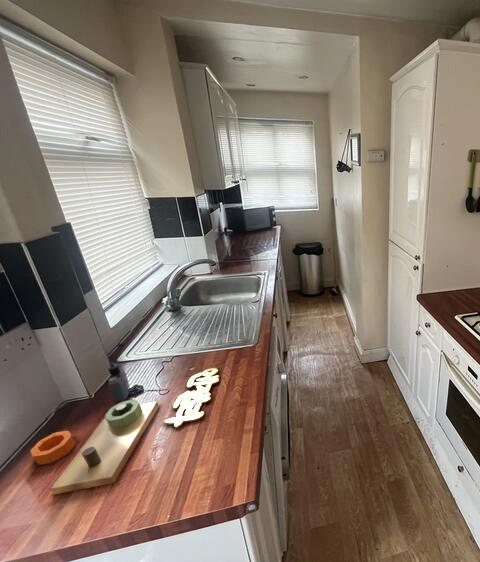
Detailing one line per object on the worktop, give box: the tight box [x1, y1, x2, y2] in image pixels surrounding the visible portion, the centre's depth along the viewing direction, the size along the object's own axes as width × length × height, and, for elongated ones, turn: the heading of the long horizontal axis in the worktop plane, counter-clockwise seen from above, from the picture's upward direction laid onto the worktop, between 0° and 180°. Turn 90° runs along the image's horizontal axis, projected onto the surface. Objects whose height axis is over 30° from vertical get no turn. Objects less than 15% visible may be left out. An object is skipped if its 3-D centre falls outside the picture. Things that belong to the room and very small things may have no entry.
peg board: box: [50, 401, 160, 496], centre depth 79 cm, size 12×24×6 cm, turn 12°
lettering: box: [164, 367, 220, 429], centre depth 96 cm, size 25×10×1 cm, turn 10°
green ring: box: [104, 399, 142, 429], centre depth 86 cm, size 7×7×3 cm
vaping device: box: [107, 362, 130, 404], centre depth 94 cm, size 3×5×12 cm, turn 21°
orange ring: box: [29, 430, 77, 466], centre depth 78 cm, size 7×7×3 cm
